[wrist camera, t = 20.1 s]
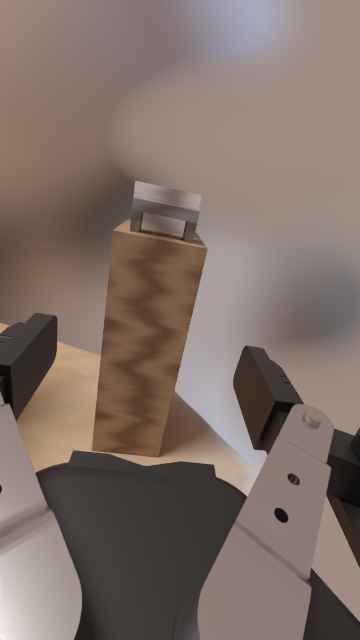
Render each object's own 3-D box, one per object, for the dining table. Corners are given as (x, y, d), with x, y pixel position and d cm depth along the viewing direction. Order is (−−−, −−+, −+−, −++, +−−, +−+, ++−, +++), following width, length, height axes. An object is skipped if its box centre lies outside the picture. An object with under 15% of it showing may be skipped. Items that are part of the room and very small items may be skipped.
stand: (91, 450, 42) (118, 176, 27) (107, 396, 53) (132, 180, 38) (158, 457, 43) (219, 198, 28) (159, 403, 54) (204, 196, 39)
